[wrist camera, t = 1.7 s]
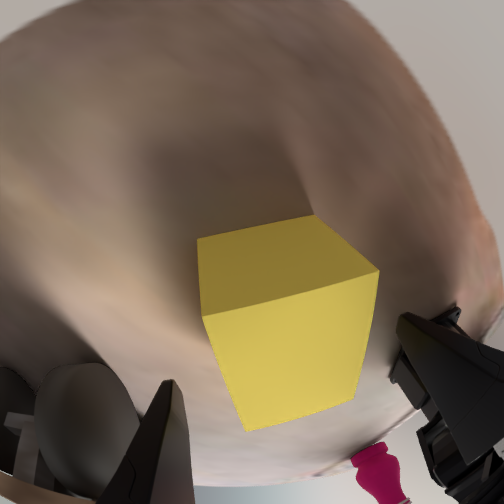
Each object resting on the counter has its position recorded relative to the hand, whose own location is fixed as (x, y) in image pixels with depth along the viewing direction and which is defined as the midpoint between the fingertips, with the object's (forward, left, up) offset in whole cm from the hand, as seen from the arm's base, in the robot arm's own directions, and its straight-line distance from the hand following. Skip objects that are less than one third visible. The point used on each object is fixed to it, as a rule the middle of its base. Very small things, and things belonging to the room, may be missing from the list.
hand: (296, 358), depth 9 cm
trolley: (+15, +8, -4) cm, 18 cm away
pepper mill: (-13, +38, -4) cm, 40 cm away
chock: (0, 0, -4) cm, 4 cm away
